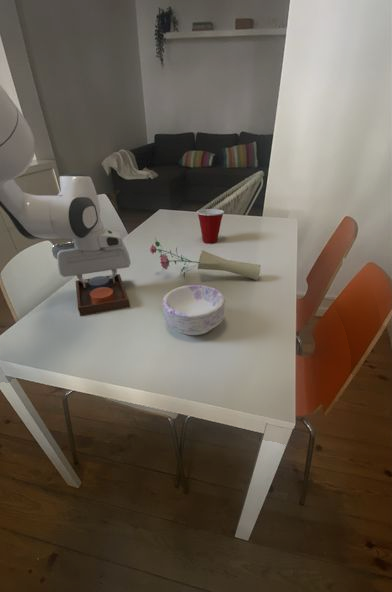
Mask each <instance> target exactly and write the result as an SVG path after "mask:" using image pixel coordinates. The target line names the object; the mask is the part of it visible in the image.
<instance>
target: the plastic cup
mask: <svg viewBox="0 0 392 592" xmlns="http://www.w3.org/2000/svg"><path fill="white" fill-rule="evenodd" d="M196 214H197V216H198V220H199V226H200V233H201V237H202V241H203V243H204V244H209V245H210V244H212V245H213V244H216V243H217V242H218V239H219V234H220V229H221V224H222V219H223V217H224V214H225V211H224V210H222V209H216V208H208V209H207V208H205V209H199V210H197V211H196Z"/></svg>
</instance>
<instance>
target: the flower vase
mask: <svg viewBox="0 0 392 592" xmlns="http://www.w3.org/2000/svg"><path fill="white" fill-rule="evenodd" d="M154 240H155V242H154V243H155V245H154V244H151V246H150V248H149V252H150V253H151V255H154V254H156V252H157V251H158V253H159V254H160V255H159V259H160V262H159V263H160V264H161V267H162V268H163V269H164V270H168V268H170V262H173V263H174V264H175V265H177V262H181V263H182V262H183V263H184V264H183V265H184V266H183V267H182V269H181V270H180V273H179V275H181V274H182V273H183V278H184V279H186V274H187V272H189V271H190V270H191V271H192V270H193V268H194V267H196V266H197V270H208V271H221V272H223V271H224V272H228V273H232V274H235V275H238V276H241V277H246V278H250V279H252V280H255V281H258V279H259V276H260V274H261V270H262V269H261V268H262V267H261V264H257V263H250V262H242V261H237V260H231V259H230V260H229V259H226V258H224V257H220V256H218V255H216V254H213V253H211V252H208V251H206V250H203V249H202V250H201V252H200V254H199V261H195V260H194V261H192V260H190V259H188V258H187V257H186V256H183V255H182V254H180V256H179V255H178V254H174V253H172V249H170V250H169V251H167V250H163V248H162V247H163V246H162V245H161V243H160V242H159V241H157V238H156V237H154ZM157 247H161V248H157ZM164 252H166V253H164ZM175 252H176V253H178V247H176V248H175ZM167 254H170V256H171V258H175V259H174V260H169V258H168V255H167ZM187 263H189V264H190V263H196V265H192V266H190V269H188V265H187ZM185 265H186V267H185ZM191 267H192V268H191ZM187 269H188V270H187Z"/></svg>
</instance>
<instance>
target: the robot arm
mask: <svg viewBox="0 0 392 592" xmlns="http://www.w3.org/2000/svg"><path fill="white" fill-rule="evenodd" d="M35 142H36V141H35V136H34V132H33V131H32V128H31V127H30V124H29V123H28V121H27V120H26V118H25V117H24V115H23V113H22V112H21V111H20V109H19V107H17V105H16V104H15V103H14V101H13V100H12V99H11V97H10V96H9V95H8V93H7V92H6V91H5V89H4V88H3V86H1V85H0V208H1V209H2V210H3V211H4V212H5V214H6V215H7V216H8V217H9V219H10V221H11V223H12V225H13V227H15V229H16V230H17V232H19V234H21V236H23V237H24V238H26V239H28V240H45V239H56V240H57V239H58V240H59V239H60V240H65V239H66V240H67V239H69V241H64V242H56V243H55V244H54V245H53V246H52V248H51V252H52V255H53V258H55V259H56V261H57V267H58V272H59V275H60V276H62V277H63V278H68V277H74V276H76V278H77V280H80V281H81V282H82V283H83V285H84V288H86V287H89V285H88V280H84V279H85V278H84V277H83V275H87V274H94V273H99V272H108V271H111V274H110V275H111V276H109V275H108V276H109V279H110V284H111V283H115V279H114V278H115V276H116V274H118V272H117V271H118V270H121V269H126V268H129V267H130V266H131V265H132V264H131V258H130V254H129V252H128V248H127V247H126V244H125V243H124V242H123V237H122V235H121V233H120V232H119V230H115V229H109V228H105V226H104V224H103V221H102V219H101V207H100V201H99V197H98V194H97V193H98V192H97V190H96V187H95V184H94V182H93V179H92V177H91V176H89V175H88V174H84V173H63V174H61V175H60V176H59V187H60V191H59V192H58V194H57V195H38V194H31V193H27V192H25V191H23V190H22V188H21V187H20V186H19V185H18V183H17V181H15V179H18V178H19V177H21V176H22V175H23V174H24V173H26V172H27V171H28V169H29V168H30V166H31V164H32V162H33V160H34V158H35V153H36V143H35Z"/></svg>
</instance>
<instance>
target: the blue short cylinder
mask: <svg viewBox="0 0 392 592" xmlns="http://www.w3.org/2000/svg"><path fill="white" fill-rule="evenodd" d="M106 276H107V275H98V276H93V277H91V279H90V278H89V279H90V280H89V281H88V285H89V289H90V292H91V291H92V290H94V289H97V288H101V287H108V288H111V284H110V279H109V278H108V277H106Z"/></svg>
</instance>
